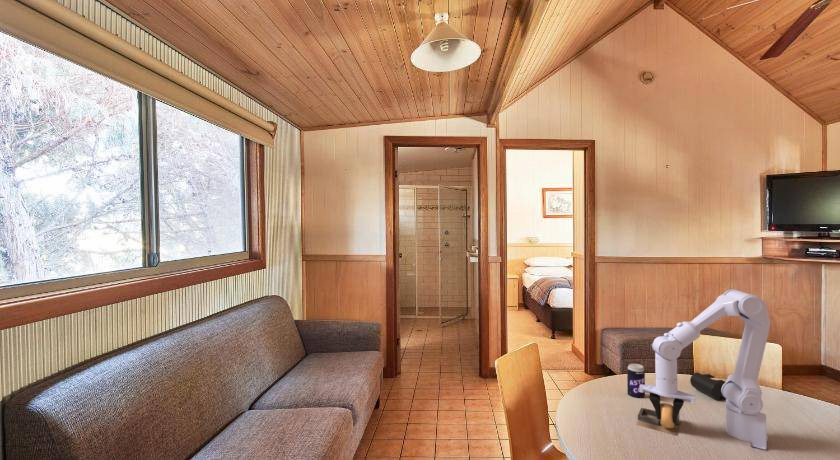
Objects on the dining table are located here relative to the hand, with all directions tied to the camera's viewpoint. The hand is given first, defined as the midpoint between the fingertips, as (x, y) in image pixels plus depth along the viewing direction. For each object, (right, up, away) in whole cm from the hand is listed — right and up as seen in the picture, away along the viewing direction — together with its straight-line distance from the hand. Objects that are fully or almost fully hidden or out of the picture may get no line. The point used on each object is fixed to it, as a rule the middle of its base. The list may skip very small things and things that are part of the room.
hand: (667, 420), depth 121 cm
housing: (0, -4, +4) cm, 5 cm away
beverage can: (+4, -4, +24) cm, 24 cm away
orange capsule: (0, -2, 0) cm, 2 cm away
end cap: (+31, -3, +24) cm, 40 cm away
